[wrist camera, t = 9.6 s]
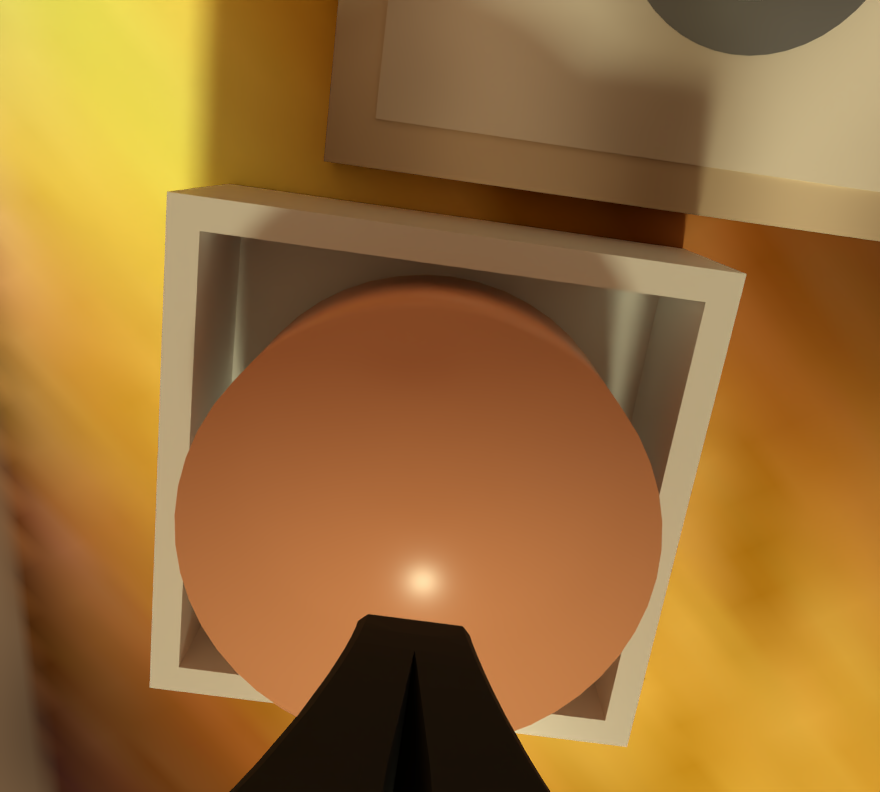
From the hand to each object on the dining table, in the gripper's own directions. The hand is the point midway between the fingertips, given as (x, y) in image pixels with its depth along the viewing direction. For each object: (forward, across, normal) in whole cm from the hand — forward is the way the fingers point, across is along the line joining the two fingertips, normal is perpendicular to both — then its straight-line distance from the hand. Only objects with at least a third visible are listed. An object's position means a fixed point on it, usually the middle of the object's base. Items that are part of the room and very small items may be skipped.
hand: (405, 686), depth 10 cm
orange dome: (+7, 0, 0) cm, 7 cm away
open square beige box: (+10, 0, 0) cm, 10 cm away
